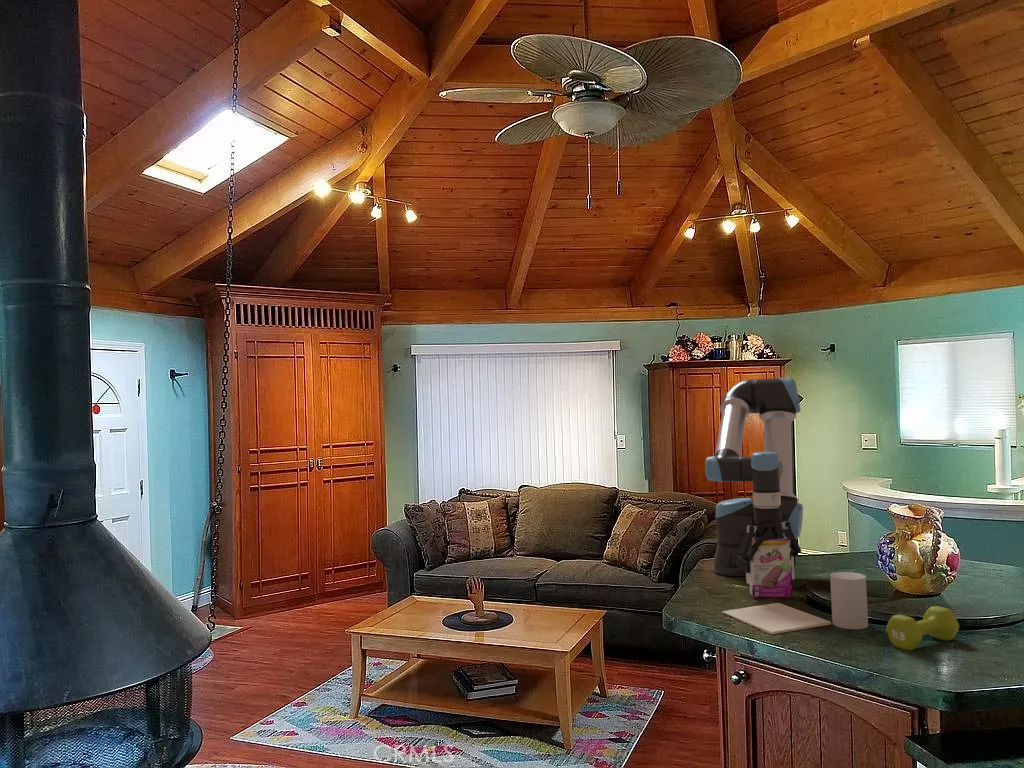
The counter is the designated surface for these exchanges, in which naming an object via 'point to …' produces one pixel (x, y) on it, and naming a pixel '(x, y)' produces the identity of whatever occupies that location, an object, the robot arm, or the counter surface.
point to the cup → (849, 600)
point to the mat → (776, 618)
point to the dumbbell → (922, 627)
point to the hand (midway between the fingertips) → (770, 581)
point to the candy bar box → (772, 569)
